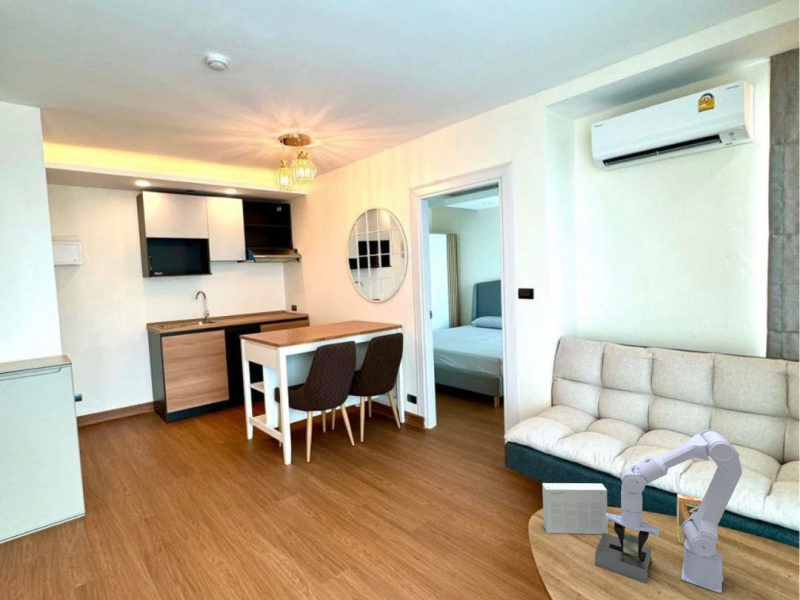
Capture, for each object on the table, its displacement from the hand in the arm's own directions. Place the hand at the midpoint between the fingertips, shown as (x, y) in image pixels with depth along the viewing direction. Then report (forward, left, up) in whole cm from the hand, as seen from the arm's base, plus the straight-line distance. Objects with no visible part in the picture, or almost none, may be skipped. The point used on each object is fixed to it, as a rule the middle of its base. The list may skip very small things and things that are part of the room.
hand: (631, 550), depth 130 cm
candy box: (-15, -23, -5) cm, 28 cm away
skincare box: (+19, -9, -5) cm, 22 cm away
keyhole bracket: (+2, 0, -5) cm, 5 cm away
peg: (0, 0, -4) cm, 4 cm away
